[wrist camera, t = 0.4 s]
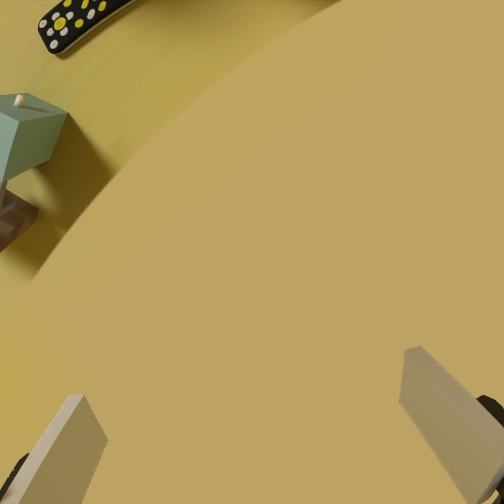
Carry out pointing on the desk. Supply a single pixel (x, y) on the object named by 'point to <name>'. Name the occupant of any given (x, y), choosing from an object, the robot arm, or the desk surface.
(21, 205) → the wall board
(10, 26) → the desk surface
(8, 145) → the cabinet
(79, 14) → the remote control
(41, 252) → the desk surface
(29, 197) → the desk surface
